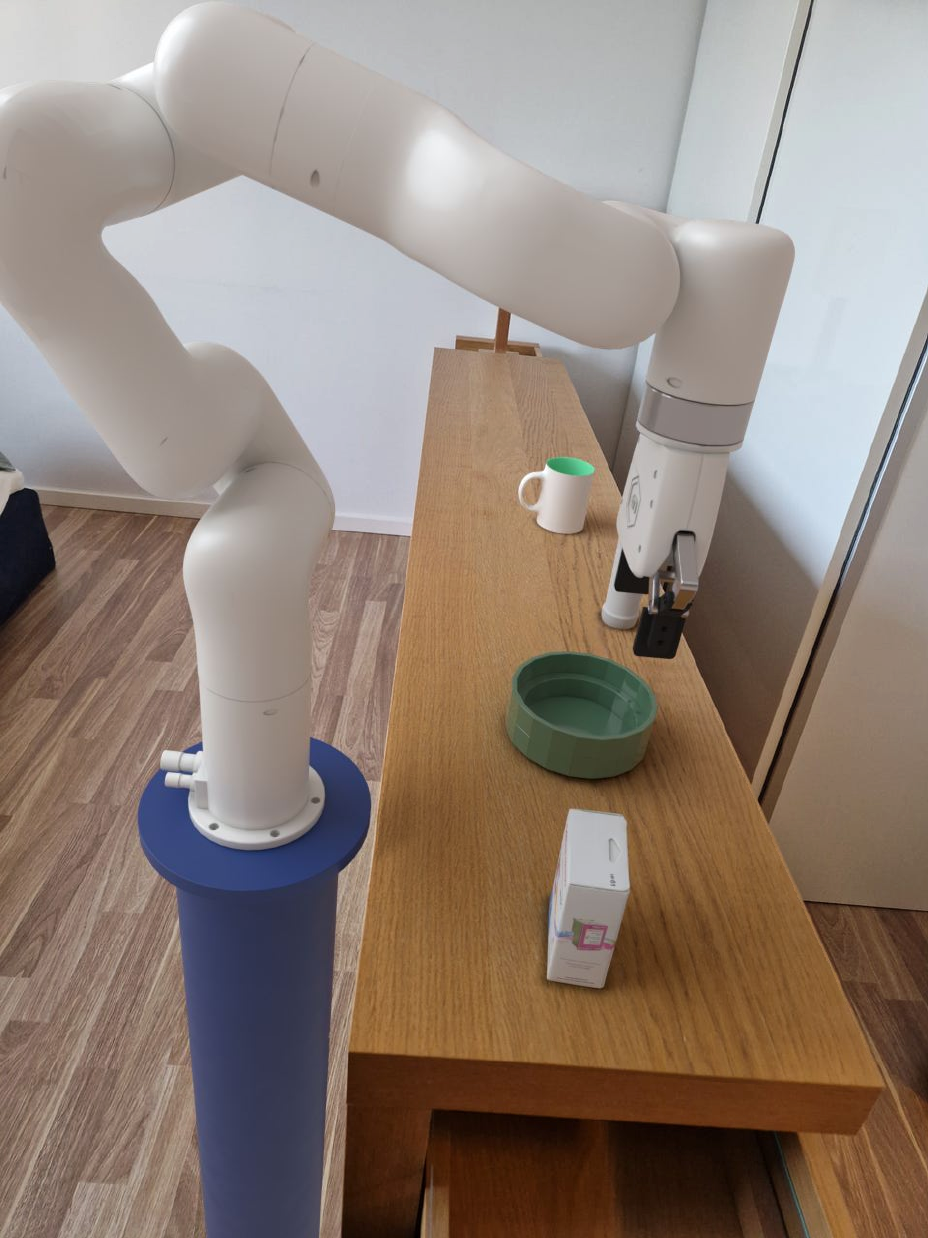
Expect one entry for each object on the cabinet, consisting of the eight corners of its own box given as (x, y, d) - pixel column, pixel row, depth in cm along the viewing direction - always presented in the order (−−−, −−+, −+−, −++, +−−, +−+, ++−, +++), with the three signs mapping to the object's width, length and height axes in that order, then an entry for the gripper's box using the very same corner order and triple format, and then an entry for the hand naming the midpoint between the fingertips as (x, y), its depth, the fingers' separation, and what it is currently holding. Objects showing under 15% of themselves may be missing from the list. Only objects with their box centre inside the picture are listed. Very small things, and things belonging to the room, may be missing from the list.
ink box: (546, 900, 79) (568, 803, 73) (601, 908, 79) (628, 812, 73) (543, 981, 72) (568, 882, 65) (604, 991, 71) (634, 892, 65)
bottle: (608, 630, 120) (647, 460, 107) (594, 611, 125) (631, 445, 112) (642, 629, 122) (685, 461, 109) (628, 610, 126) (668, 445, 113)
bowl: (504, 773, 93) (512, 729, 90) (505, 684, 107) (511, 644, 104) (654, 790, 93) (667, 747, 90) (635, 700, 107) (646, 660, 104)
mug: (519, 532, 144) (529, 473, 139) (509, 511, 151) (518, 454, 146) (588, 534, 147) (600, 476, 141) (575, 513, 153) (586, 457, 148)
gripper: (621, 374, 68) (583, 566, 77) (664, 453, 53) (610, 680, 62) (715, 384, 68) (666, 574, 77) (784, 465, 54) (713, 689, 63)
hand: (641, 621), depth 70 cm, fingers open, 9 cm apart
